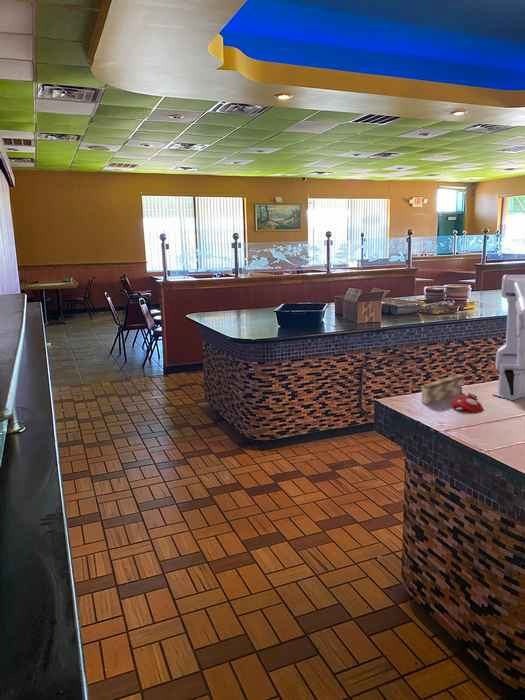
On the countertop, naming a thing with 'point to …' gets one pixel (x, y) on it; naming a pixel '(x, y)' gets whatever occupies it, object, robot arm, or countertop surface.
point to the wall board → (442, 388)
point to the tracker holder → (468, 403)
